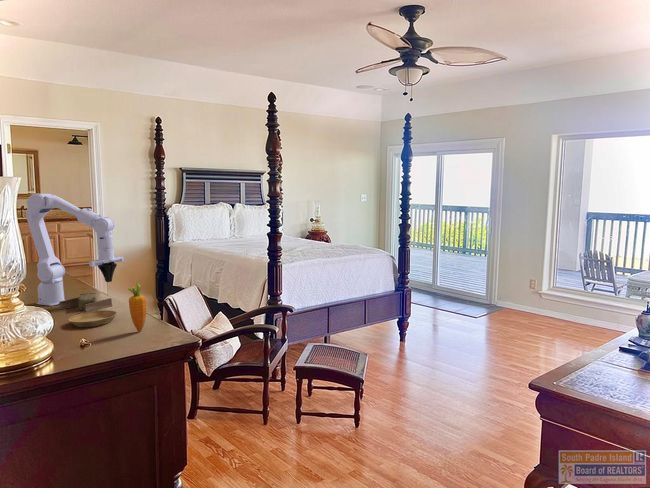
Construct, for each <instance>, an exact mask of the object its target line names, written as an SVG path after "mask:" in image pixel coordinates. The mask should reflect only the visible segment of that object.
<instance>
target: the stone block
mask: <svg viewBox="0 0 650 488" xmlns="http://www.w3.org/2000/svg"><path fill="white" fill-rule="evenodd" d="M78 297H79V305H78V307H79V310H80V311H85V310H84V305H85V304H89V303H93V302H97V301H98V300H97V293H96V292H89V293H80V294H79V296H78Z"/></svg>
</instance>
